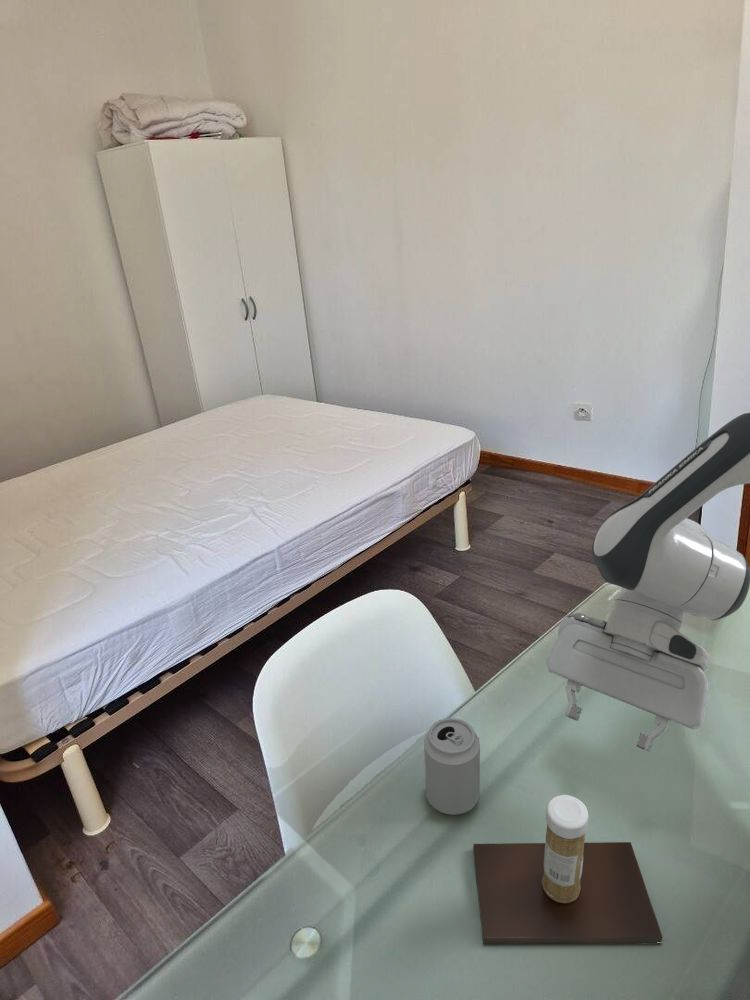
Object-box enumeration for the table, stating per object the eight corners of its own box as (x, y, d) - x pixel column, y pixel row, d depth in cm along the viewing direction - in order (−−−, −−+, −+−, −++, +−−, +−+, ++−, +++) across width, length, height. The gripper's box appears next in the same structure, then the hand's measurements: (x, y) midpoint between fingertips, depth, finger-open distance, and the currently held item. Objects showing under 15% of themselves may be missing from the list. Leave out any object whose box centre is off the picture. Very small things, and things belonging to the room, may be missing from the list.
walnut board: (629, 848, 88) (630, 841, 88) (661, 944, 77) (662, 937, 77) (473, 849, 89) (473, 843, 89) (483, 944, 79) (483, 938, 78)
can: (449, 766, 102) (448, 704, 96) (490, 794, 97) (491, 731, 91) (414, 797, 97) (411, 734, 92) (456, 829, 92) (455, 764, 87)
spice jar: (587, 886, 83) (596, 809, 77) (566, 913, 80) (575, 835, 74) (554, 862, 86) (561, 786, 80) (533, 887, 83) (538, 810, 77)
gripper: (560, 603, 95) (525, 698, 92) (720, 656, 83) (684, 767, 81) (571, 613, 100) (538, 704, 97) (723, 664, 88) (690, 769, 86)
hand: (606, 733), depth 89 cm, fingers open, 8 cm apart
